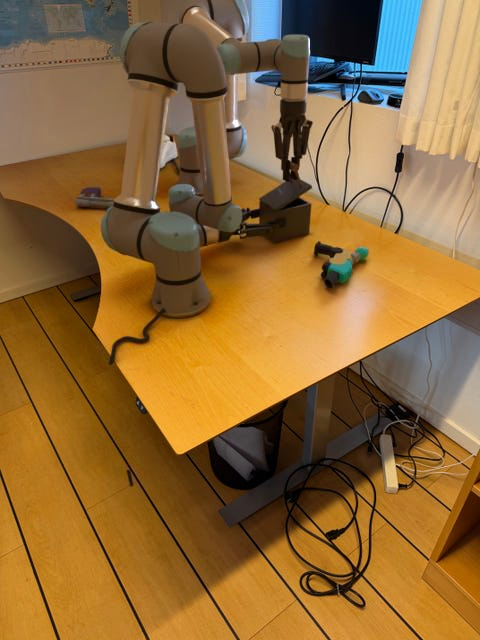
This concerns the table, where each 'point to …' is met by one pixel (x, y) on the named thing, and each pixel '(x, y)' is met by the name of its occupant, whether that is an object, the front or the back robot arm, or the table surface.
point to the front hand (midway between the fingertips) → (276, 216)
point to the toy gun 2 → (338, 262)
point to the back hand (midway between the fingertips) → (289, 179)
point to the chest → (287, 219)
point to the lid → (286, 191)
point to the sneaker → (168, 150)
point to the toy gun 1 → (93, 199)
